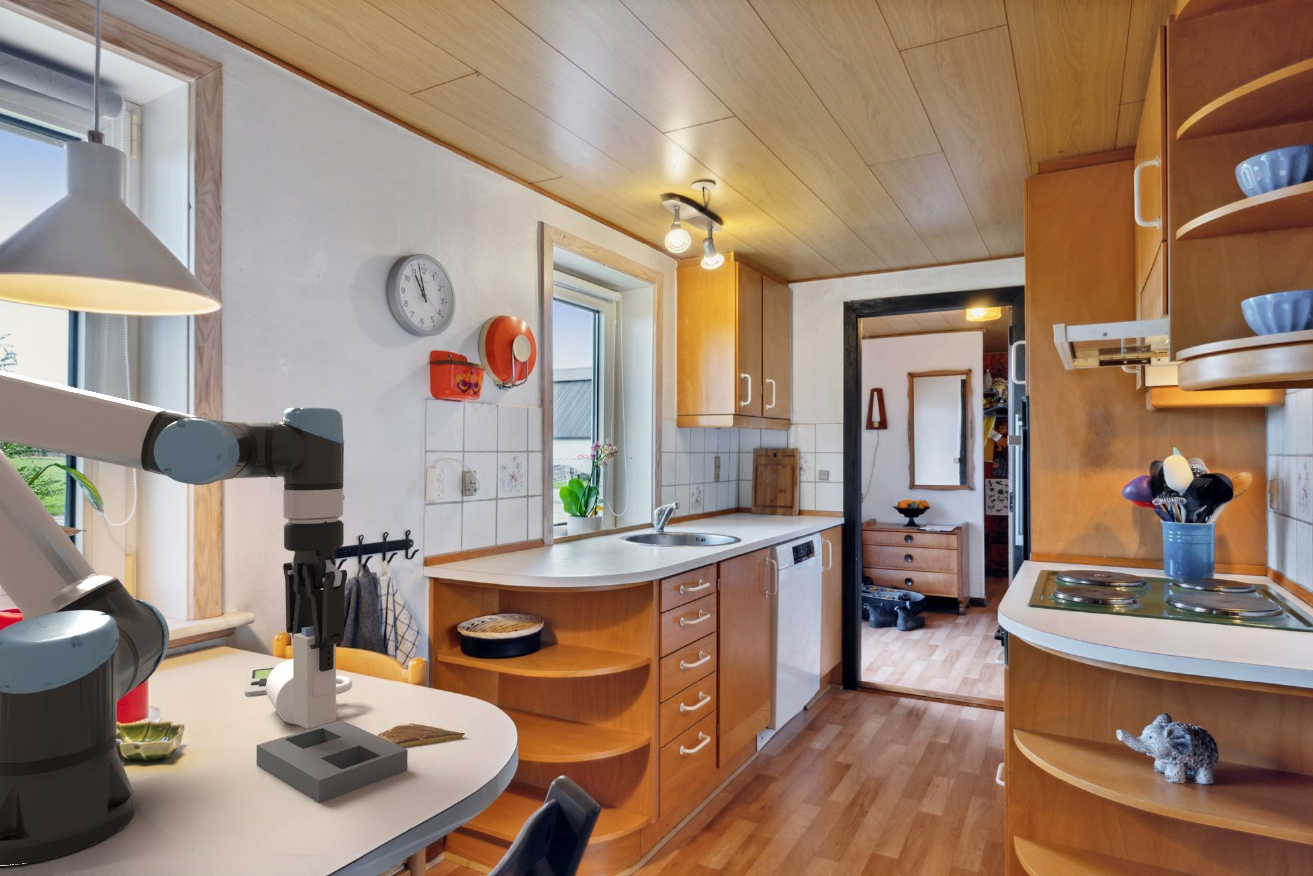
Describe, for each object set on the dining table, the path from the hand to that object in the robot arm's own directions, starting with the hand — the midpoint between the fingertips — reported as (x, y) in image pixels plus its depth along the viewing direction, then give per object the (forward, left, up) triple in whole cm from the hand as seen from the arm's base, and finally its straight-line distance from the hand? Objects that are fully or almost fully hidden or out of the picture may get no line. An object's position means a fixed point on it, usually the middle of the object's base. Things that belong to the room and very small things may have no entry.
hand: (314, 689), depth 105 cm
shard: (+14, -4, -10) cm, 18 cm away
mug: (+9, +19, -10) cm, 23 cm away
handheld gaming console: (+13, +40, -10) cm, 43 cm away
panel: (0, -5, -10) cm, 11 cm away
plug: (0, 0, -4) cm, 4 cm away
